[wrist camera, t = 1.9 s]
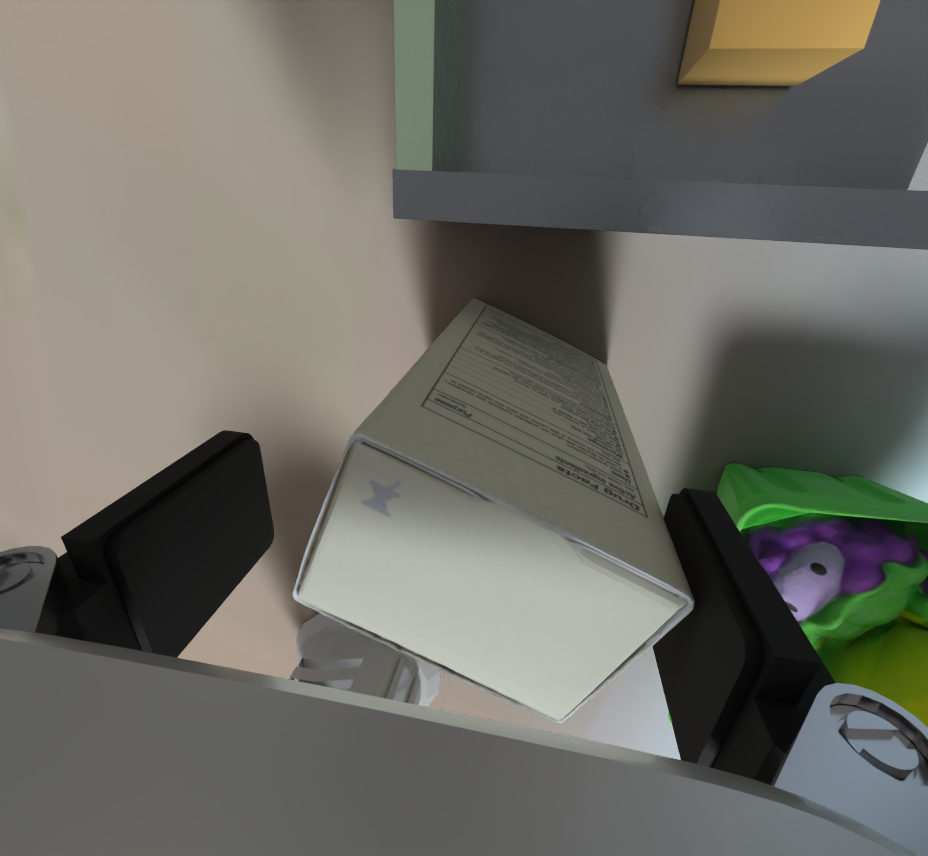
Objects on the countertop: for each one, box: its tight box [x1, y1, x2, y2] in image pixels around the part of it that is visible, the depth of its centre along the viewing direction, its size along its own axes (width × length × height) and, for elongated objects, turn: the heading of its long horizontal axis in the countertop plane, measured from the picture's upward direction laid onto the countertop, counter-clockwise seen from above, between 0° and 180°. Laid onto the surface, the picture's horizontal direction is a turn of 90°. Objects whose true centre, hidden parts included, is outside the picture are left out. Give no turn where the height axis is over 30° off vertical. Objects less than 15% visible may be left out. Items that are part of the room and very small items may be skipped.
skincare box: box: [292, 299, 695, 724], centre depth 13 cm, size 6×4×12 cm
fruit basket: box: [669, 463, 928, 727], centre depth 15 cm, size 11×9×11 cm
